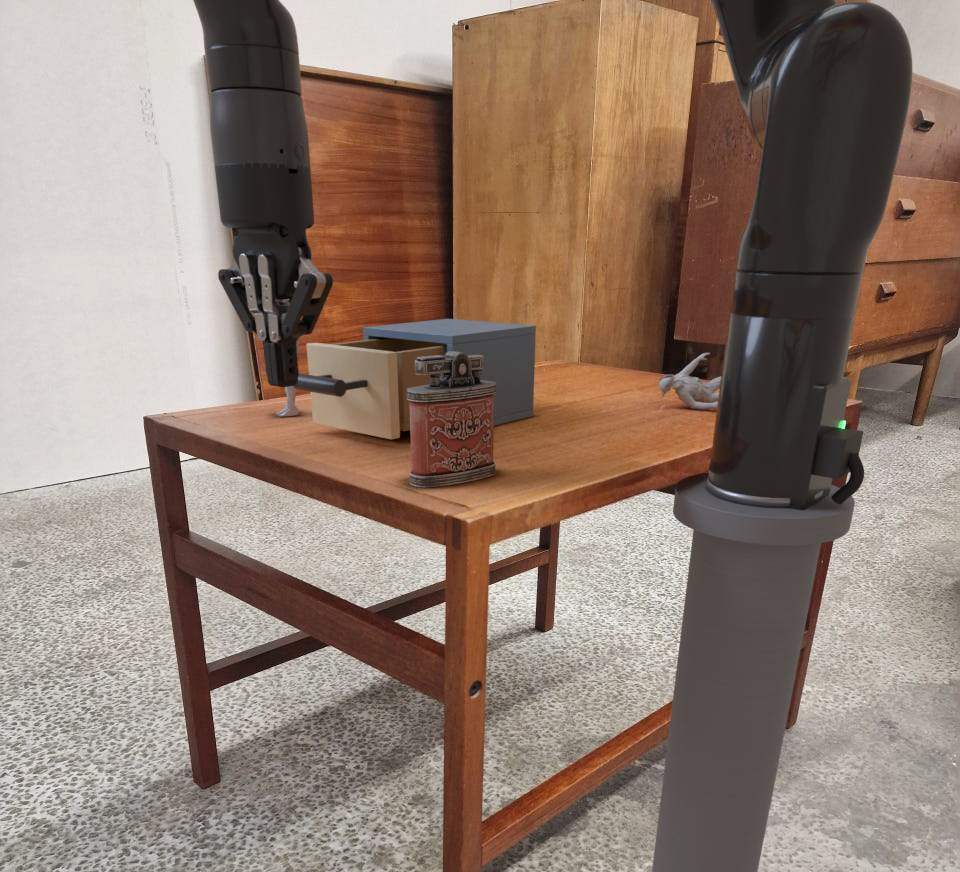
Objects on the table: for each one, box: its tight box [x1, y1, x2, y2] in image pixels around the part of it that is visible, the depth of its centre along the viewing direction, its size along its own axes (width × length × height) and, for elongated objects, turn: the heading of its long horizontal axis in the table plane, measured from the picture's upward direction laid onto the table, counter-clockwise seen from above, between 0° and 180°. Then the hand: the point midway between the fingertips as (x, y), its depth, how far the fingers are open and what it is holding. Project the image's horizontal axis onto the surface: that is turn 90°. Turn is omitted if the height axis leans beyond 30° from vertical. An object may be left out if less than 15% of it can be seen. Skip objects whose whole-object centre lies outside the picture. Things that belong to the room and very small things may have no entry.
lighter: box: [407, 351, 496, 488], centre depth 67 cm, size 8×3×10 cm, turn 126°
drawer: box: [294, 338, 447, 441], centre depth 83 cm, size 17×11×8 cm
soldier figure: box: [658, 352, 721, 411], centre depth 99 cm, size 8×5×12 cm
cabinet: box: [362, 318, 537, 427], centre depth 90 cm, size 14×13×10 cm
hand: (283, 385), depth 74 cm, fingers closed
